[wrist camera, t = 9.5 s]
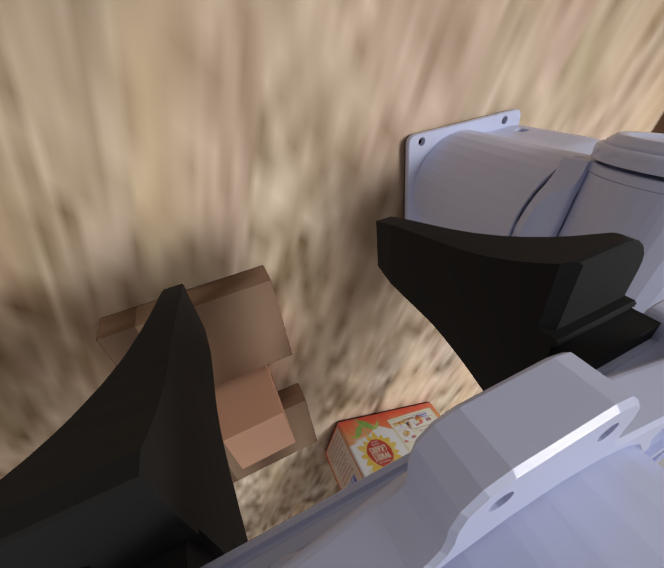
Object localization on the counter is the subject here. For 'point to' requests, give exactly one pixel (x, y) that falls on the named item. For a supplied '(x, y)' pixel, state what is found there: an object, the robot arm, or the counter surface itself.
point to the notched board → (229, 344)
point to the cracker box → (375, 441)
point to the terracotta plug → (252, 417)
